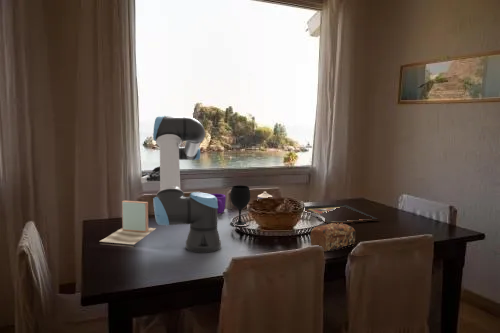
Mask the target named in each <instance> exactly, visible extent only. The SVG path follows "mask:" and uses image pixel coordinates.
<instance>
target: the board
mask: <svg viewBox="0 0 500 333" xmlns="http://www.w3.org/2000/svg"><path fill="white" fill-rule="evenodd" d="M156 229H157V228H156V227H148V231H147V232H138V231H125V230H123V228H122V227H121V228H120V229H119V228H118V229H117V230H116V231H114V232H112V233H111V234H109V235H108V236H106V237H105V238H103V239H101V240H99V242H100V243H99V245H107V246H114V247H115V246H116V247H129V248H135V247H136V246H135V245H136V244H137V243H139V242H140V241H142V239H144V238H145V237H147V236H148V235H149V234H151V233H152V232H154V231H155V230H156ZM111 243H112V244H111ZM113 243H114V244H113Z"/></svg>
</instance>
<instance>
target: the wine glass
mask: <svg viewBox="0 0 500 333" xmlns="http://www.w3.org/2000/svg"><path fill="white" fill-rule="evenodd" d="M250 201H251V191H250V186H248V185H241V184H239V185H238V184H237V185H233V186H231V190H230V202H231V203H232V205H233V206H234V207H235V208H236V209H238V220H237V221H238V222H236V223H235V224H237V225H244V224H246V222H247V221H245V222H242V221H243V220H242V218H241V217H242V216H241V215H242V210H243V209H244V208H245V207H247V206H248V205H249V203H250ZM232 222H233V221H231V222H229V226H232V227H234V225H233V223H232Z"/></svg>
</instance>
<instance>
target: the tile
mask: <svg viewBox="0 0 500 333" xmlns="http://www.w3.org/2000/svg"><path fill="white" fill-rule="evenodd" d="M121 208H122V209H121V212H122V213H121V219H122V220H121V222H122V224H121V225H122V227H121V228H123V230H125V231H138V232H147V231H148V228H149V202H148V201H137V200H122V201H121Z"/></svg>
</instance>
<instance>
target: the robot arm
mask: <svg viewBox="0 0 500 333" xmlns="http://www.w3.org/2000/svg"><path fill="white" fill-rule="evenodd" d="M205 135H206V130H205V127H204V125H203V124H202V123H201V122H200V121H199V120H197V119H196V118H193V117H191V116H169V115H167V116H166V115H164V116H163V115H162V116H161V115H158V116H157V117H155V118H154V125H153V134H152V139H153V141H155V142H156V145H157V146H158V147H159V165H158V166H156V167H154V169H152V171H151V172H146V171H144V173H142V174H141V177H140V184H146V183H147V182H152V181H154V182H155V181H156V182H157V181H158V182H159V186H160V188H159V190H158V192H157V193H156V196H155V197H153V198H152V199H153V200H152V201H153V204H152V205H153V210H154V218H155V223H156V224H157V225H159V226H168V227H169V226H176V225H179V226H180V225H189V232H188V234H187V239H186V241H185V249H186V250H188V251H190V252H193V253H199V254H202V253H212V252H217V251H218V250H220V249H221V248H222V240H221V239H220V234H219V231H218V214H217V211H218V202H217V198H216V197H215V196H214V195H211V194H212V193H207V192H201V191H198V192H197V191H195V192H190V194H189V196H185V193H184V191H183V190H182V189H181V171H180V170H181V168H180V161H195V160H196V161H197V160H200V158H201V147H200V146H201V145H200V144H201V143H202V142H203V141H204V139H205V137H206V136H205ZM183 142H185V144H184V146H181V145H182V143H183Z"/></svg>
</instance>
